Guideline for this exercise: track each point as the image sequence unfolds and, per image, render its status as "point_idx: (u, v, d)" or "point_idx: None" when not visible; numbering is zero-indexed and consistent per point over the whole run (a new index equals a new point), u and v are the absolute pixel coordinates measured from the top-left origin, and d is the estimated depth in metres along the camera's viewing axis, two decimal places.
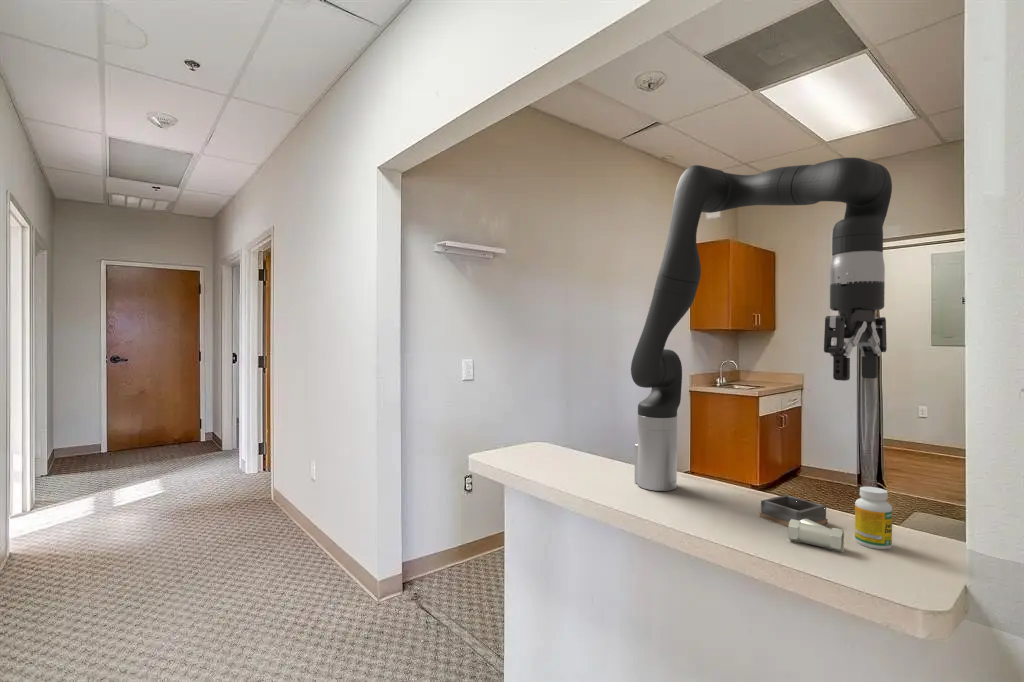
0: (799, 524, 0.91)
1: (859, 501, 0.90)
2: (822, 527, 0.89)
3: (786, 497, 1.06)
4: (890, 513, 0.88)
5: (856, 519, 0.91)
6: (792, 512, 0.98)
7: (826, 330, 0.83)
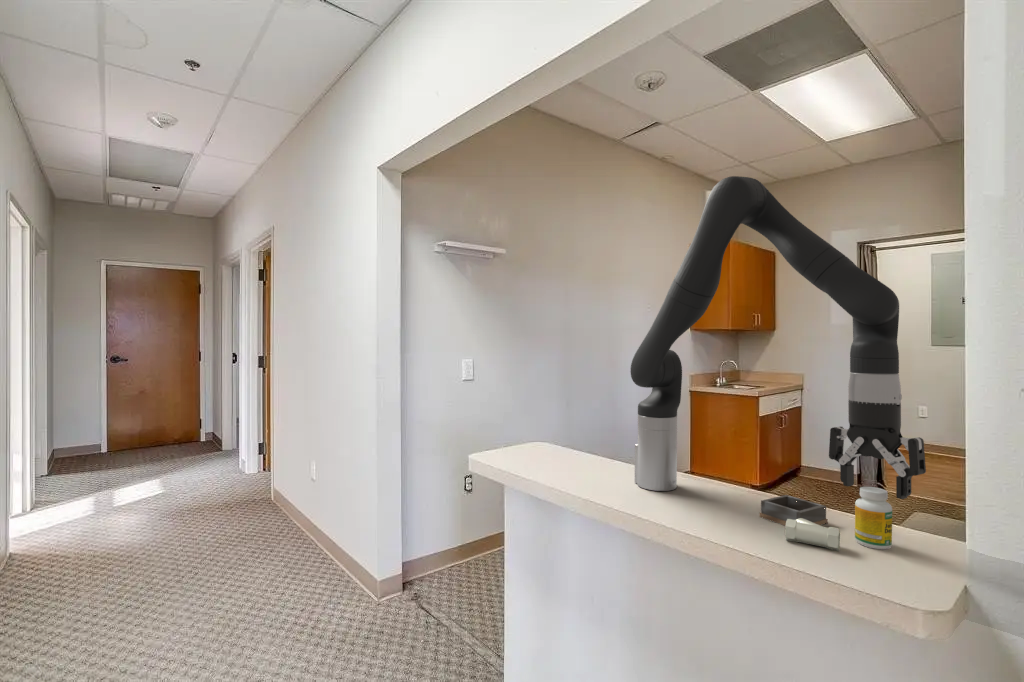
0: (796, 523, 0.91)
1: (859, 501, 0.90)
2: (818, 526, 0.89)
3: (786, 497, 1.06)
4: (890, 513, 0.88)
5: (856, 519, 0.91)
6: (792, 512, 0.98)
7: (918, 453, 0.83)
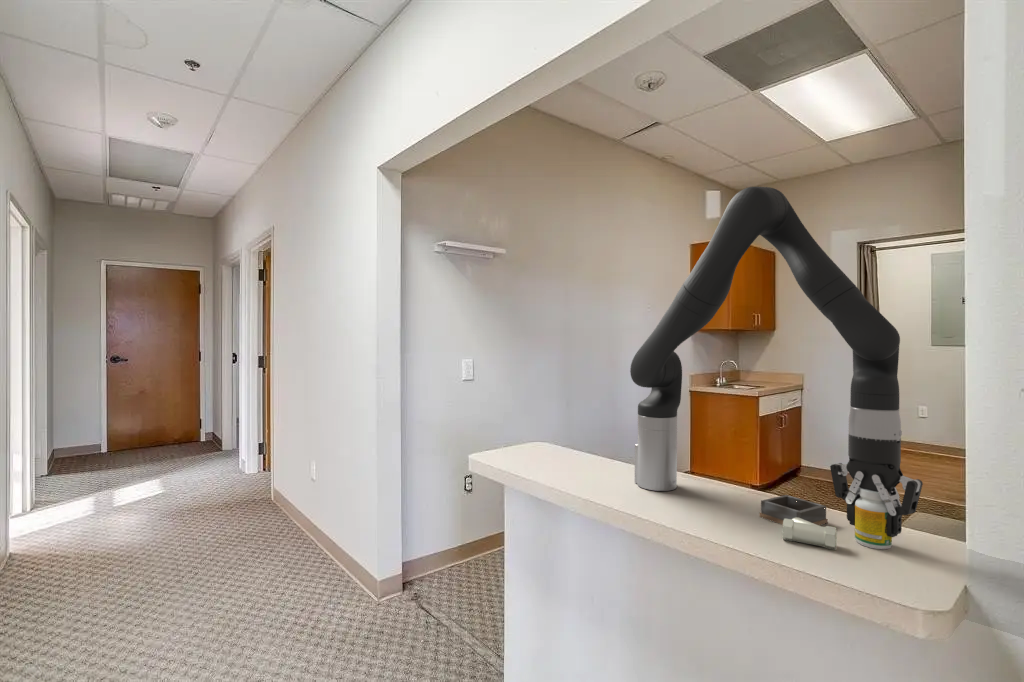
0: (793, 523, 0.91)
1: (859, 501, 0.90)
2: (815, 525, 0.90)
3: (786, 497, 1.06)
4: None
5: (856, 519, 0.91)
6: (792, 512, 0.98)
7: (913, 496, 0.84)
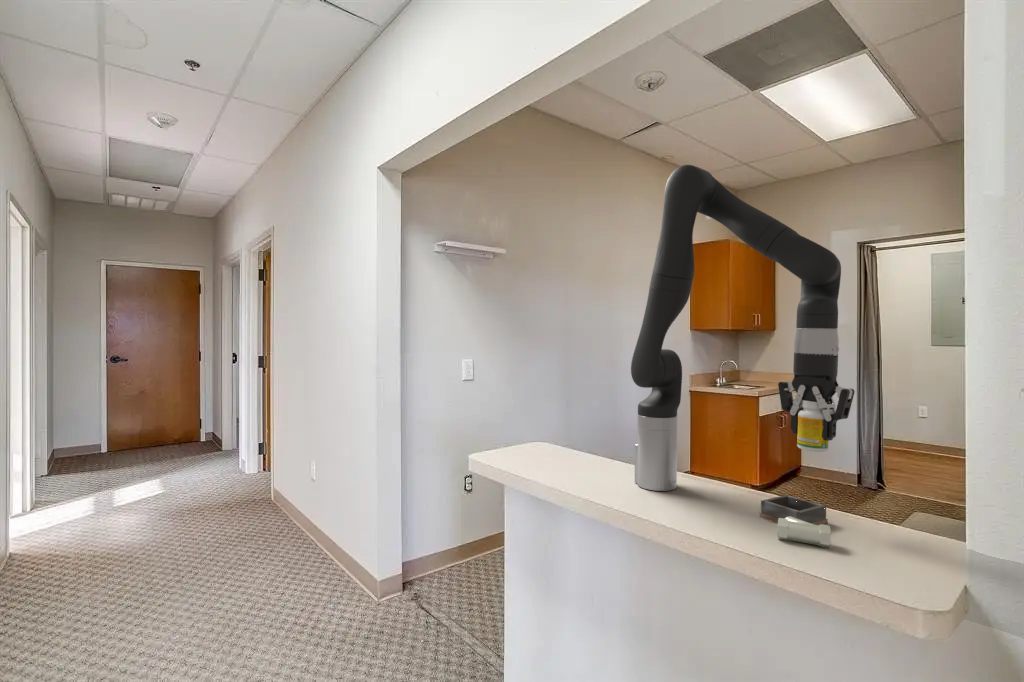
0: (788, 522, 0.91)
1: (801, 411, 1.02)
2: (810, 524, 0.90)
3: (786, 497, 1.06)
4: None
5: (798, 427, 1.02)
6: (792, 512, 0.98)
7: (846, 402, 0.95)
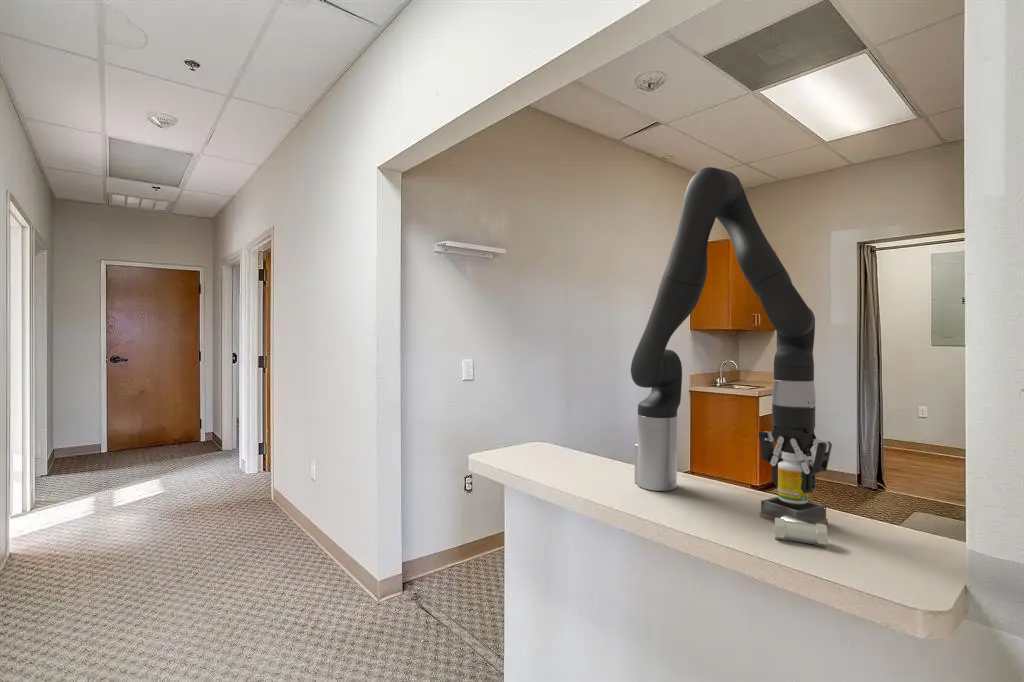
0: (785, 522, 0.92)
1: (781, 462, 1.02)
2: (806, 523, 0.91)
3: None
4: None
5: (778, 479, 1.02)
6: (792, 512, 0.98)
7: (823, 455, 0.96)
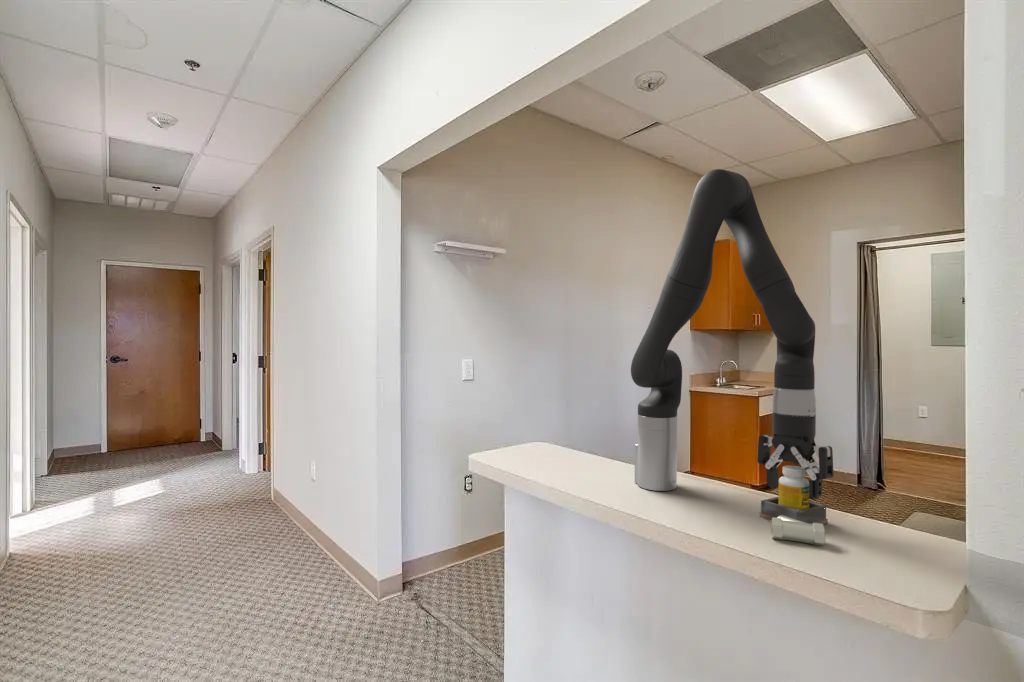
0: (782, 522, 0.92)
1: (781, 478, 1.02)
2: (803, 523, 0.91)
3: None
4: (806, 488, 0.99)
5: (779, 494, 1.02)
6: (792, 512, 0.98)
7: (826, 460, 0.95)
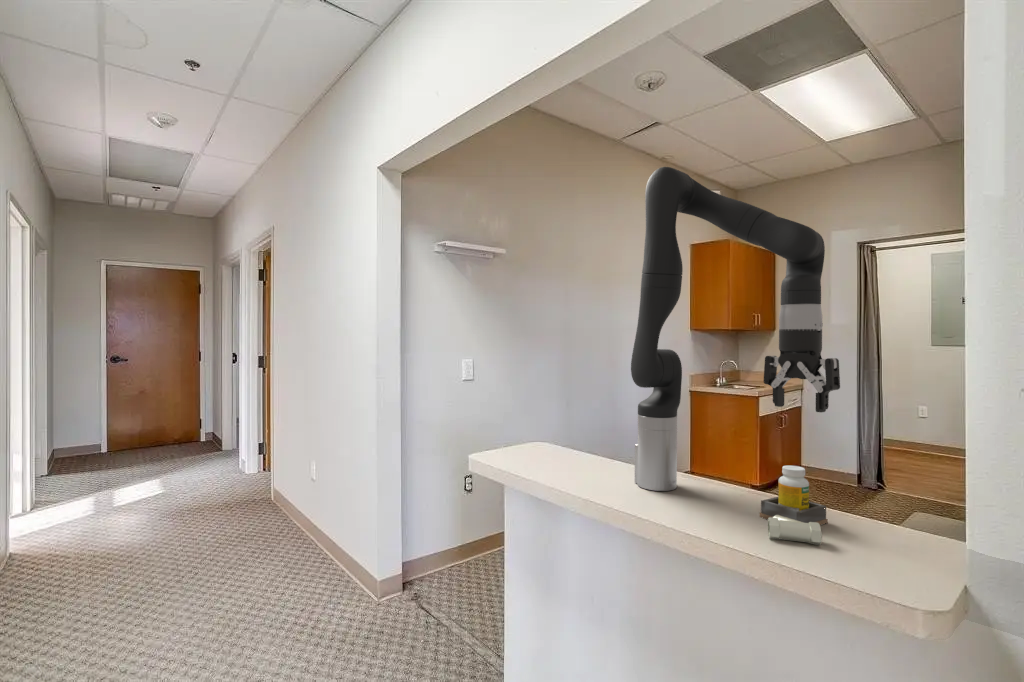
0: (779, 521, 0.92)
1: (781, 478, 1.02)
2: (799, 522, 0.91)
3: None
4: (806, 488, 0.99)
5: (779, 494, 1.02)
6: (792, 512, 0.98)
7: (832, 371, 0.96)
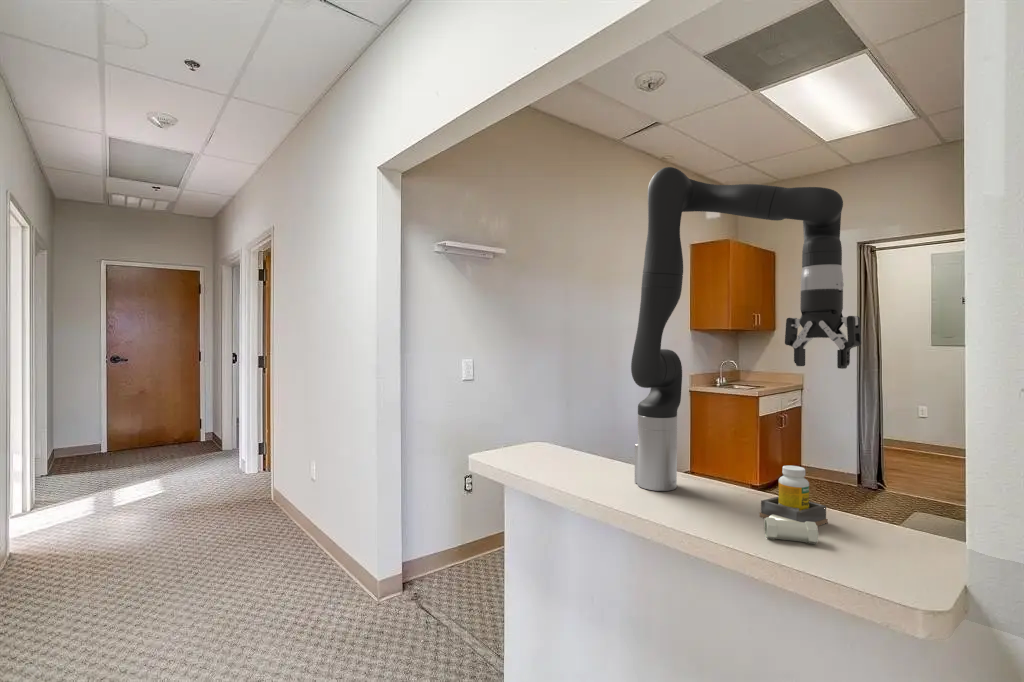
0: (776, 521, 0.92)
1: (781, 478, 1.02)
2: (796, 522, 0.92)
3: None
4: (806, 488, 0.99)
5: (779, 494, 1.02)
6: (792, 512, 0.98)
7: (854, 327, 1.00)
